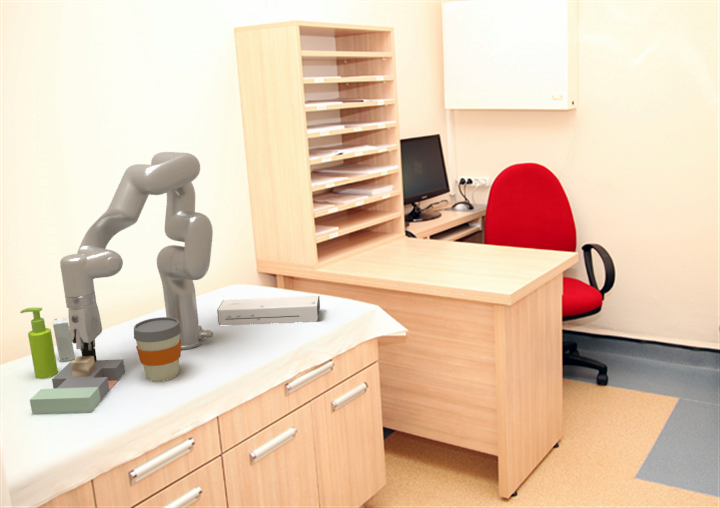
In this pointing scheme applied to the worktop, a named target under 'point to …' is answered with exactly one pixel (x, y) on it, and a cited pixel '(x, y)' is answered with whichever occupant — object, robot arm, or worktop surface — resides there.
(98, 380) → the board
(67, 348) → the skincare box
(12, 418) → the worktop surface
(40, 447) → the worktop surface
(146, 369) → the reusable coffee cup
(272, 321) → the laminator
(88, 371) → the maple block
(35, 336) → the soap dispenser
